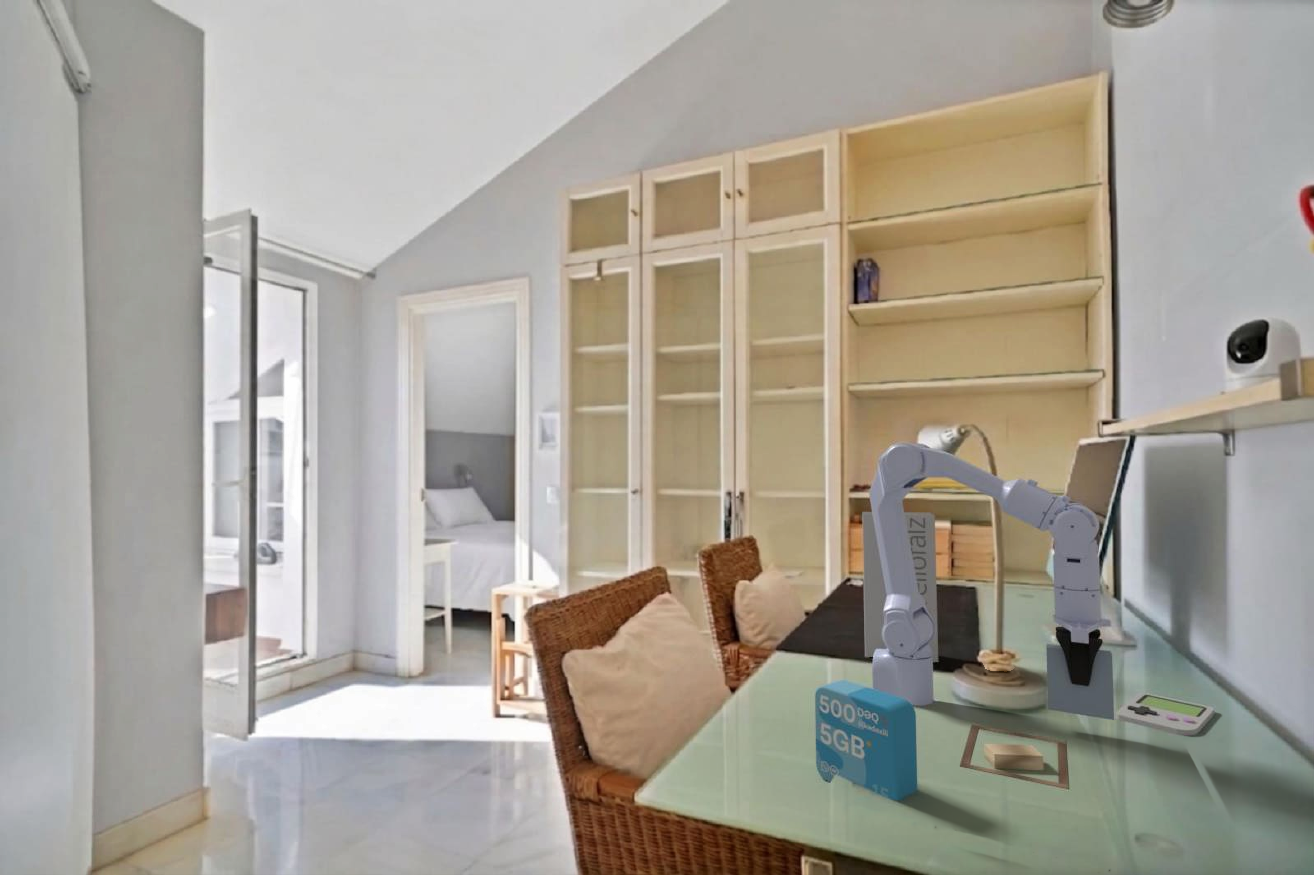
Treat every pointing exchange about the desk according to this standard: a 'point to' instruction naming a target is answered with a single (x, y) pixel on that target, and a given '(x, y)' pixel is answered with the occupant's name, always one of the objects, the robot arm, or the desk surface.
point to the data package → (866, 738)
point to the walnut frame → (966, 760)
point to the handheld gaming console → (1165, 714)
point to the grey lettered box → (874, 585)
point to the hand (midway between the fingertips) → (1079, 681)
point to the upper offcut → (1013, 757)
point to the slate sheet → (1080, 686)
